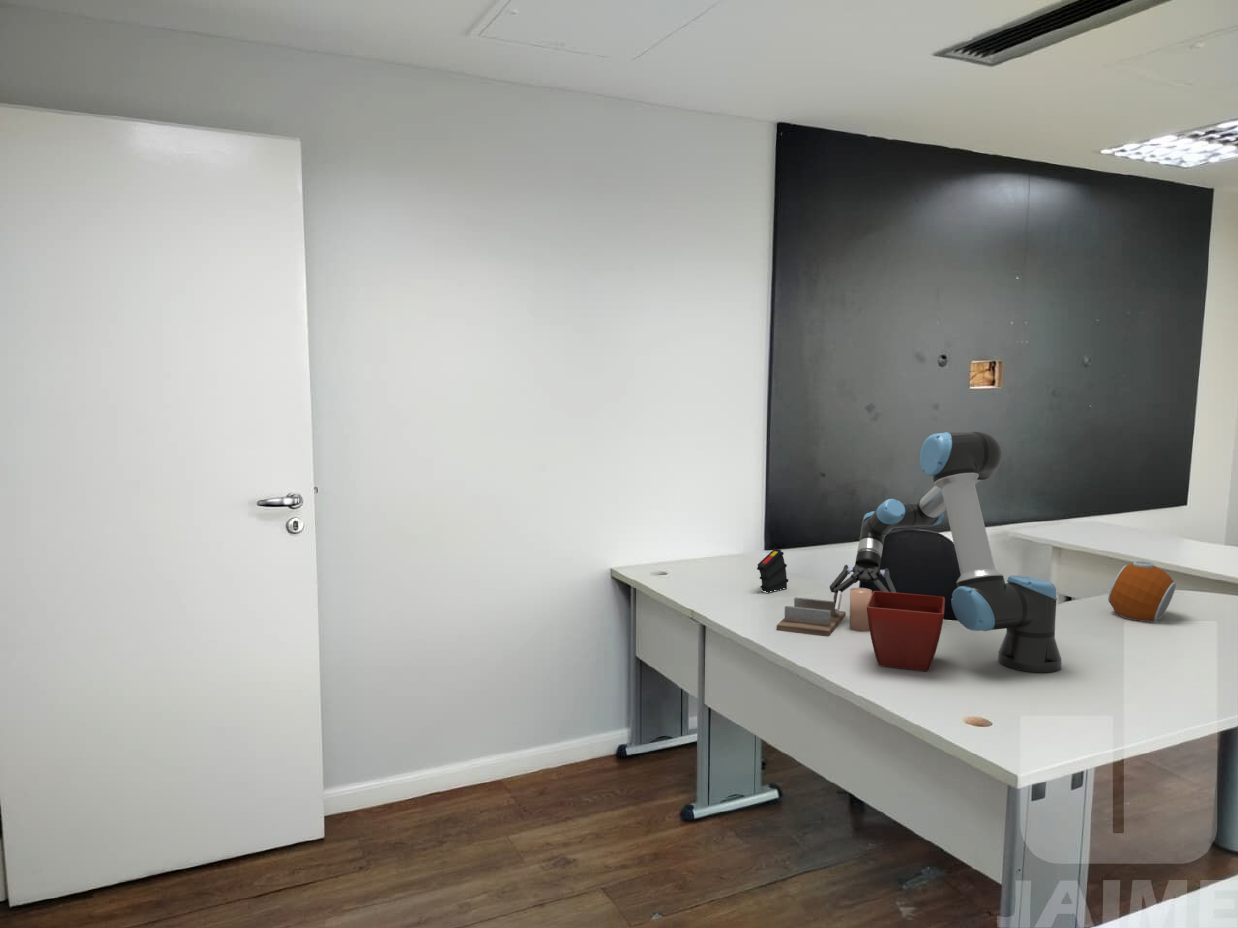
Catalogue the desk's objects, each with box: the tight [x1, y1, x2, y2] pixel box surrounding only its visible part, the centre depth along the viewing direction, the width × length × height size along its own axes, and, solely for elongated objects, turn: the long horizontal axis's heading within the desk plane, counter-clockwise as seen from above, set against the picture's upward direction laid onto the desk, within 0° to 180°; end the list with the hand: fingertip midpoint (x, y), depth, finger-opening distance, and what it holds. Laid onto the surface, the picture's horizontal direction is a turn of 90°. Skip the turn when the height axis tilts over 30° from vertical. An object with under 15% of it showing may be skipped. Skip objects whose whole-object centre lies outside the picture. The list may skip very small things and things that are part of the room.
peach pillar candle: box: [849, 587, 873, 633], centre depth 260 cm, size 6×6×12 cm
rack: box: [776, 597, 847, 637], centre depth 267 cm, size 24×16×6 cm, turn 154°
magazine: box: [756, 548, 789, 592], centre depth 309 cm, size 4×13×15 cm, turn 130°
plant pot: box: [867, 590, 946, 672], centre depth 228 cm, size 19×19×17 cm
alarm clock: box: [1107, 560, 1177, 622], centre depth 269 cm, size 19×18×17 cm
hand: (859, 613), depth 258 cm, fingers open, 13 cm apart
